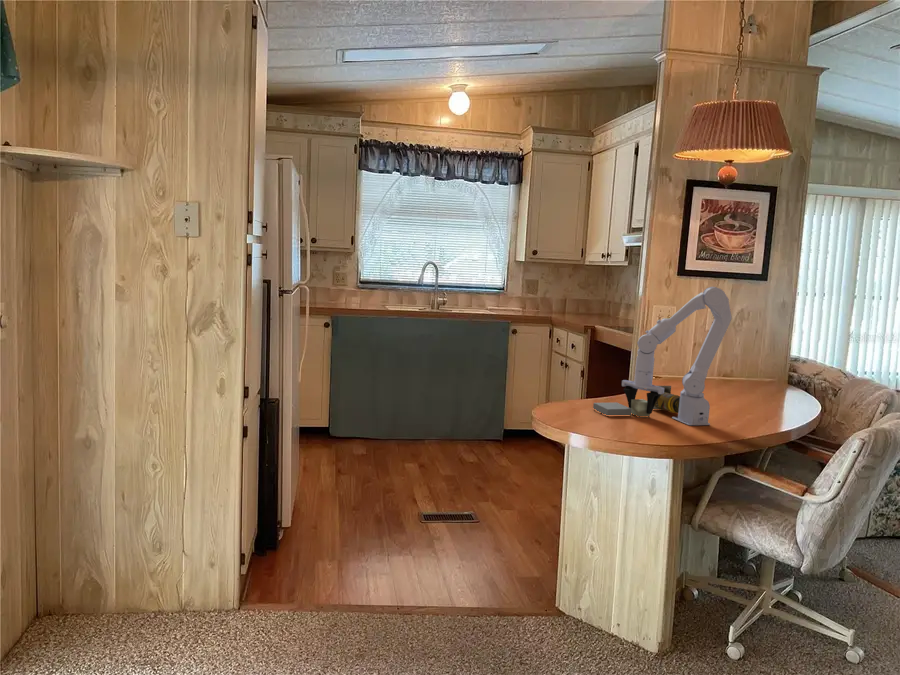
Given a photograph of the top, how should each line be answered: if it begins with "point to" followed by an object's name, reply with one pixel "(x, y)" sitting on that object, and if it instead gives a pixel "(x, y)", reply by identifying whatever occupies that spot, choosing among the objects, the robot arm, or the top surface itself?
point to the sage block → (639, 407)
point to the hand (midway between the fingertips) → (640, 411)
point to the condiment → (668, 401)
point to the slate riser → (612, 408)
